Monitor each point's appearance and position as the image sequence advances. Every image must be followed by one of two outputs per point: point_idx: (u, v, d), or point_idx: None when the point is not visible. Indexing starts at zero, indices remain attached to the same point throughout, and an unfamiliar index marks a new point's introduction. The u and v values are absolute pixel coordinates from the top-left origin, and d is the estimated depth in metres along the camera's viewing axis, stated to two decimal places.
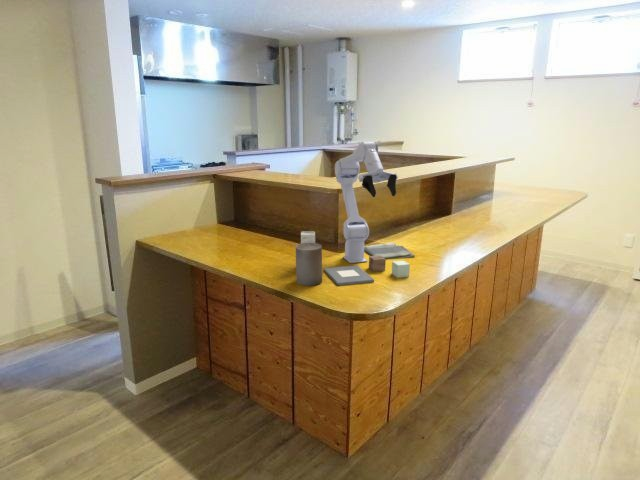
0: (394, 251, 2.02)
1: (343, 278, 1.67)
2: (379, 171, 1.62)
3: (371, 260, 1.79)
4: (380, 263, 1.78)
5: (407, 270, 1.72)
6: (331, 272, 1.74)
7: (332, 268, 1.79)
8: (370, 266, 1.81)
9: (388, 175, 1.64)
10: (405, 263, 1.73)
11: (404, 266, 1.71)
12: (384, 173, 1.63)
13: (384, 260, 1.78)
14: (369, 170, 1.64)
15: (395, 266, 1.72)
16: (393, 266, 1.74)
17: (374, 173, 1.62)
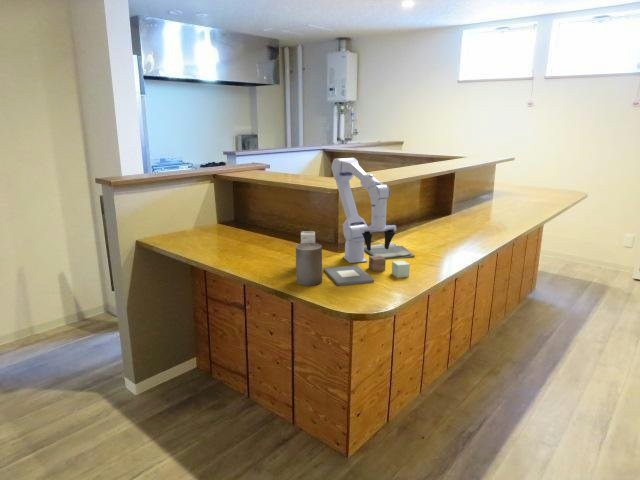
0: (394, 251, 2.02)
1: (343, 278, 1.67)
2: None
3: (371, 260, 1.80)
4: (380, 263, 1.78)
5: (407, 270, 1.72)
6: (331, 272, 1.74)
7: (332, 268, 1.79)
8: (370, 266, 1.81)
9: (388, 228, 1.77)
10: (405, 263, 1.73)
11: (404, 266, 1.71)
12: None
13: (384, 260, 1.79)
14: (372, 222, 1.75)
15: (395, 266, 1.72)
16: (393, 266, 1.74)
17: (375, 229, 1.75)
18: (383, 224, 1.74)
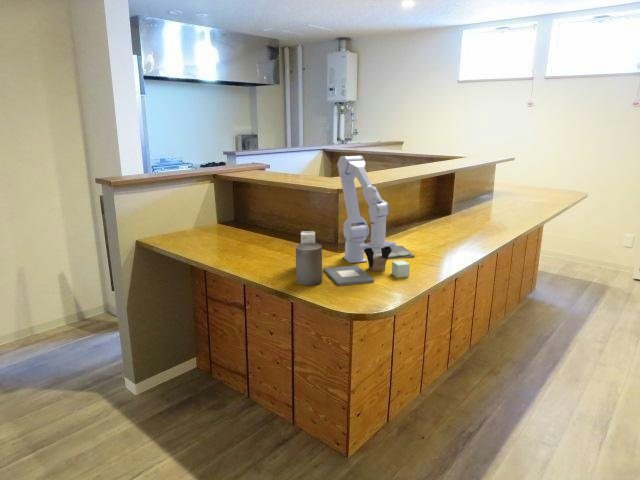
0: (394, 251, 2.02)
1: (343, 278, 1.67)
2: None
3: None
4: (380, 263, 1.78)
5: (407, 270, 1.72)
6: (331, 272, 1.74)
7: (332, 268, 1.79)
8: None
9: None
10: (405, 263, 1.73)
11: (404, 266, 1.71)
12: None
13: (384, 260, 1.78)
14: (372, 239, 1.77)
15: (395, 266, 1.72)
16: (393, 266, 1.74)
17: (375, 247, 1.77)
18: (382, 241, 1.76)
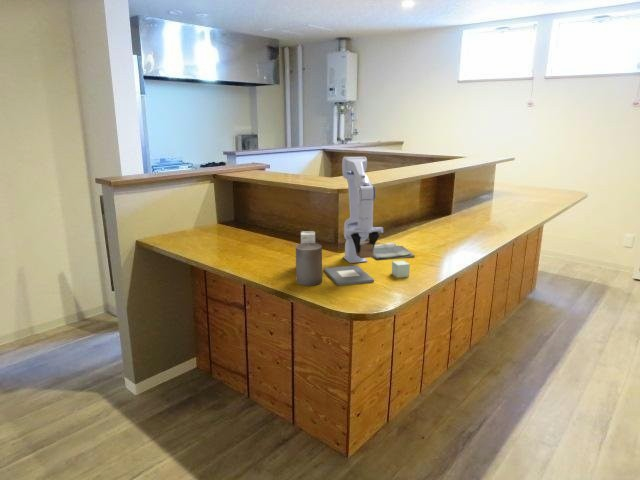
0: (394, 251, 2.02)
1: (343, 278, 1.67)
2: None
3: None
4: (368, 249, 1.72)
5: (407, 270, 1.72)
6: (331, 272, 1.74)
7: (332, 268, 1.79)
8: None
9: (375, 230, 1.73)
10: (405, 263, 1.73)
11: (404, 266, 1.71)
12: None
13: (372, 246, 1.73)
14: (359, 224, 1.71)
15: (395, 266, 1.72)
16: (393, 266, 1.74)
17: (362, 231, 1.71)
18: (370, 226, 1.70)
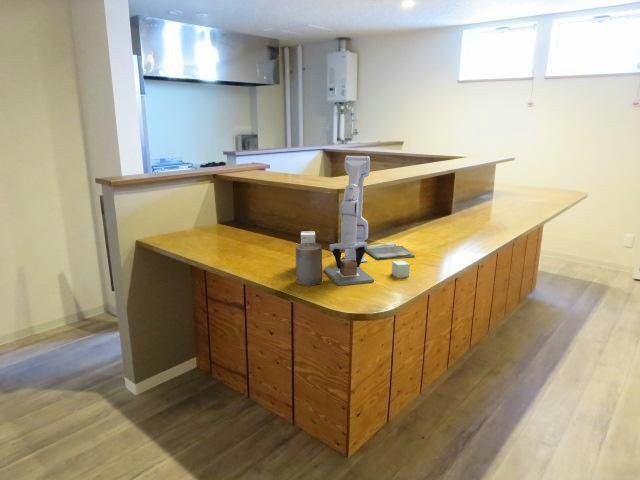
0: (394, 251, 2.02)
1: (343, 278, 1.67)
2: (350, 247, 1.67)
3: (342, 264, 1.71)
4: (351, 267, 1.70)
5: (407, 270, 1.72)
6: (331, 272, 1.74)
7: (332, 268, 1.79)
8: (341, 270, 1.72)
9: (358, 245, 1.70)
10: (405, 263, 1.73)
11: (404, 266, 1.71)
12: None
13: (355, 264, 1.70)
14: (342, 239, 1.68)
15: (395, 266, 1.72)
16: (393, 266, 1.74)
17: None
18: (353, 241, 1.67)
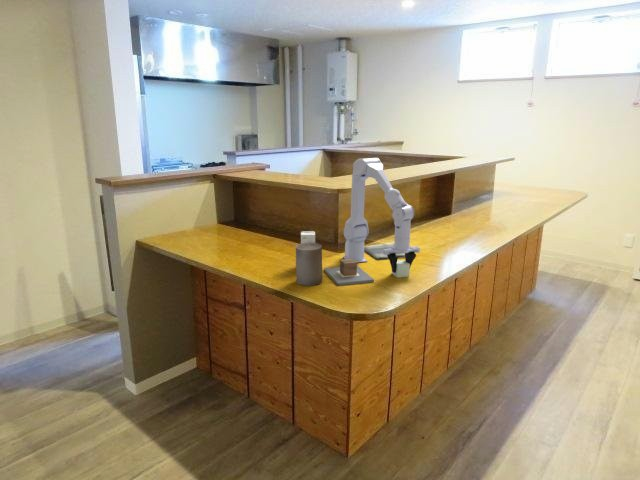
0: None
1: (343, 278, 1.67)
2: None
3: (342, 264, 1.71)
4: (351, 267, 1.70)
5: (407, 270, 1.72)
6: (331, 272, 1.74)
7: (332, 268, 1.79)
8: (341, 270, 1.72)
9: None
10: (405, 263, 1.73)
11: (404, 266, 1.71)
12: None
13: (355, 264, 1.70)
14: (396, 244, 1.70)
15: None
16: None
17: None
18: (407, 246, 1.69)
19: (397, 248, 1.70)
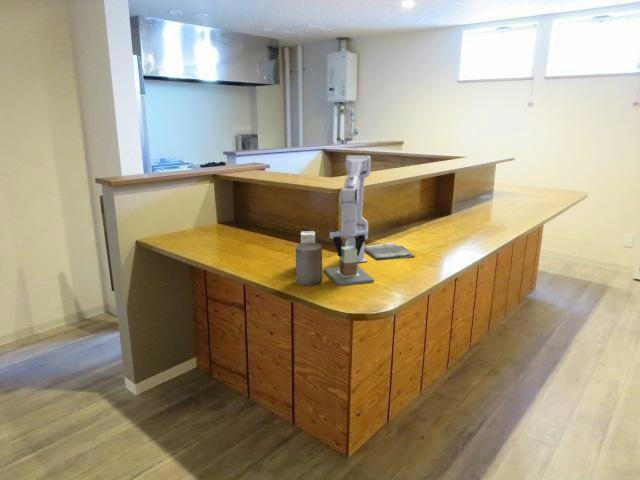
0: (394, 251, 2.02)
1: (343, 278, 1.67)
2: (350, 235, 1.66)
3: (342, 264, 1.71)
4: (351, 267, 1.70)
5: (354, 255, 1.69)
6: (331, 272, 1.74)
7: (332, 268, 1.79)
8: (341, 270, 1.72)
9: None
10: (353, 248, 1.69)
11: (351, 251, 1.68)
12: None
13: (355, 264, 1.70)
14: (342, 227, 1.67)
15: (343, 252, 1.69)
16: (341, 252, 1.71)
17: None
18: (353, 229, 1.66)
19: (343, 231, 1.67)
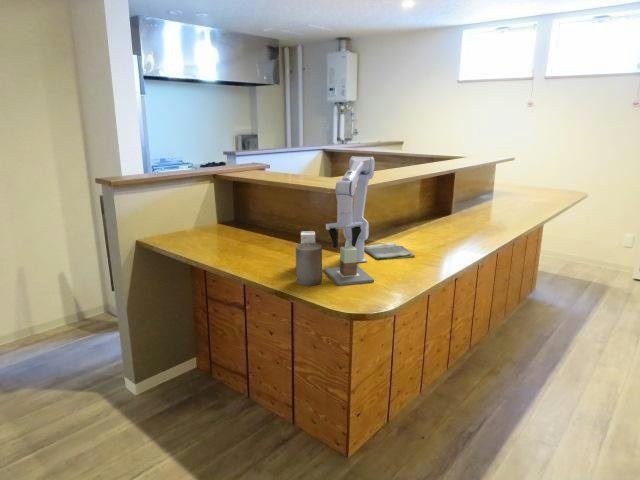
0: (394, 251, 2.02)
1: (343, 278, 1.67)
2: (346, 226, 1.70)
3: (342, 264, 1.71)
4: (351, 267, 1.70)
5: (354, 255, 1.69)
6: (331, 272, 1.74)
7: (332, 268, 1.79)
8: (341, 270, 1.72)
9: None
10: (353, 248, 1.69)
11: (351, 251, 1.68)
12: None
13: (355, 264, 1.70)
14: (338, 218, 1.71)
15: (343, 252, 1.69)
16: (341, 252, 1.71)
17: (341, 226, 1.71)
18: (349, 221, 1.70)
19: (339, 223, 1.71)
